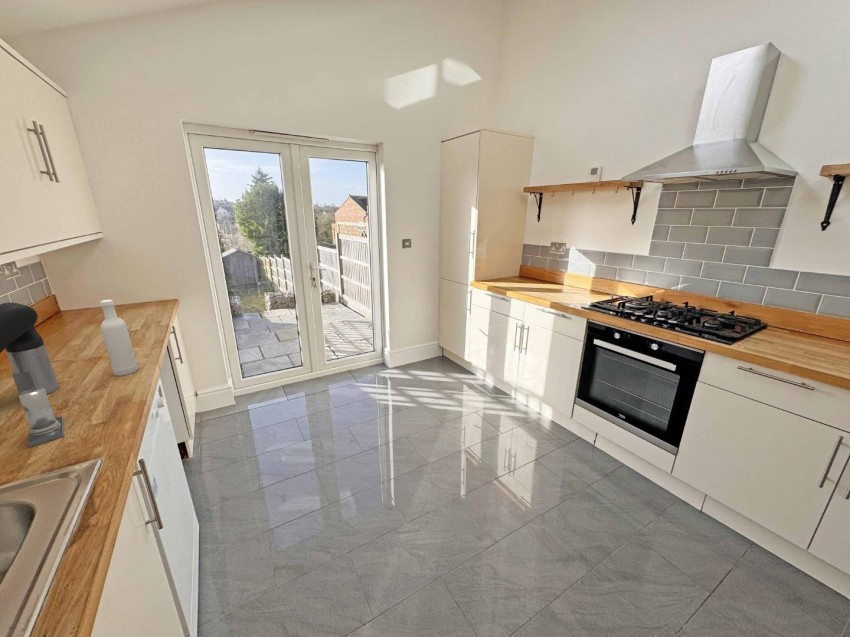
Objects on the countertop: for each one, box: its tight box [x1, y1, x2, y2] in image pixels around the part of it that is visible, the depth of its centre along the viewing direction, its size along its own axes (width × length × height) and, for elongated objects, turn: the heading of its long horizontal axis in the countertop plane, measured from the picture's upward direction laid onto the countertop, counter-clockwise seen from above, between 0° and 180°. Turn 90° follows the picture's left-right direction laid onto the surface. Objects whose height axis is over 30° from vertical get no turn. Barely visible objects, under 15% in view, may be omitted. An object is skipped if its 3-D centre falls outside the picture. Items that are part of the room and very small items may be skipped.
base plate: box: [27, 415, 65, 448], centre depth 107 cm, size 12×7×2 cm, turn 44°
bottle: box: [100, 299, 139, 377], centre depth 143 cm, size 8×8×30 cm
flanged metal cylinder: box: [18, 388, 59, 434], centre depth 105 cm, size 6×6×12 cm
